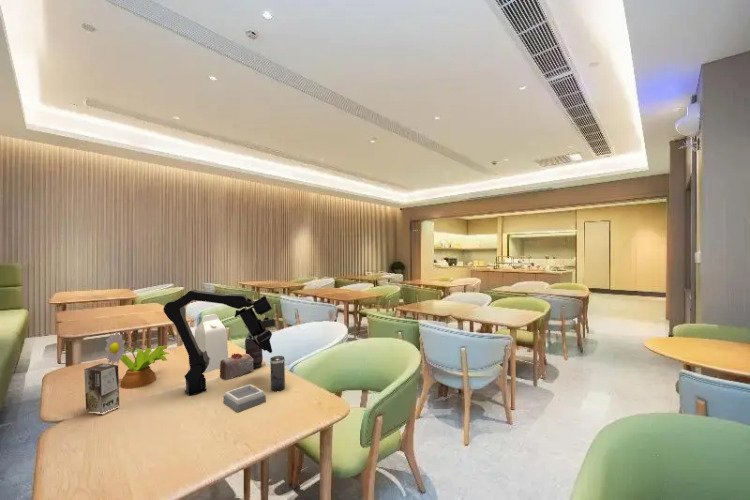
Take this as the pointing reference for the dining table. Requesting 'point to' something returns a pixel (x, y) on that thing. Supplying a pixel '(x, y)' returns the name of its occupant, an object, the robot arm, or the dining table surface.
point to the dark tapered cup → (277, 373)
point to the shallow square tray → (244, 397)
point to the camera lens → (254, 353)
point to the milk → (212, 340)
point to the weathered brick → (236, 365)
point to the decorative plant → (138, 370)
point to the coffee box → (101, 387)
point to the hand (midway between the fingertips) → (268, 351)
